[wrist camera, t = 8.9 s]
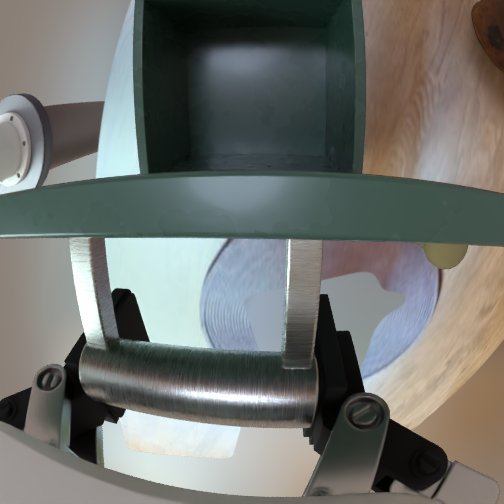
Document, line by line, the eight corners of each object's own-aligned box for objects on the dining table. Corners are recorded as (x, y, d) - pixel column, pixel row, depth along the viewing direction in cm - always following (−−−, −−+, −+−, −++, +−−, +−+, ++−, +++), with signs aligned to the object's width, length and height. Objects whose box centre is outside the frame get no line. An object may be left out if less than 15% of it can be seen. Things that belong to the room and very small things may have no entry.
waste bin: (182, 29, 25) (135, -5, 14) (330, 25, 24) (359, -16, 12) (187, 161, 33) (141, 191, 21) (330, 161, 31) (360, 191, 20)
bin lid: (-78, 215, 4) (-32, 387, 5) (579, 212, 3) (500, 442, 4) (139, 187, 21) (143, 263, 22) (362, 188, 20) (357, 268, 21)
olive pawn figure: (416, 241, 35) (454, 285, 25) (384, 222, 34) (418, 266, 24) (438, 203, 32) (484, 239, 22) (406, 182, 31) (451, 213, 22)
